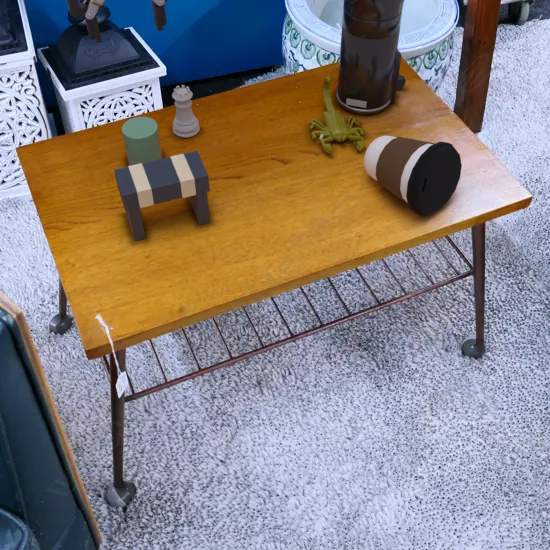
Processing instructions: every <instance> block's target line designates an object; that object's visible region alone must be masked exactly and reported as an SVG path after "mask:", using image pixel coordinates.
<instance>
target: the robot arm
mask: <svg viewBox="0 0 550 550" xmlns="http://www.w3.org/2000/svg"><path fill="white" fill-rule="evenodd" d="M167 1H168V0H150V2H151V7H152V15H153V22H154V26H155V28H156V31H157V32H162V31H164V27H165V26H167V21H168V20H167V15H166V14H167V13H166V3H167ZM105 2H106V0H83V2H79V0H66V4H67V8H68V10H69V13H70V14H69V15H70V16H71V17H72V18H79V17H81V18H84V20H85V25H86V29H87V33H88V35H89V38H90V39H91V40H92V41H93V40H94V41H95V43H96V44H100V43H102V42H103V41H102V37H101V31H100V27H99V23H98V22H99V21H98V18H97V15H96V14H97V13H98V11H99V9H100V7H102V6H103V5H104V3H105ZM404 3H405V0H343V2H342V4H343V5H342V18H341V19H342V20H341V32H340V33H341V34H340V48H339V62H338V75H337V87H336V97H335V99H336V102H337V104H338V106H340V107H341V109H343V110H345V111H347V112H349V113H352V114H355V115H361V116H370V115H377V114H379V113H382V112H384V111H385V110H387V109H388V108H389V106H391V105H394V104H395V103H396V99H397V92H401V91H403V88H404V86H405V84H406V78H405V76H404V75H402V74H401V73H400V70H401V63H402V53H401V51H400V50H399V49H398V48H399V40H400V33H401V24H402V16H403V8H404Z"/></svg>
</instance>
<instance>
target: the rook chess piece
mask: <svg viewBox="0 0 550 550" xmlns="http://www.w3.org/2000/svg"><path fill="white" fill-rule="evenodd" d="M193 95H194V93H193V91H191V89H190V87H189V86H186V85H185V84H181V87H180V85H176V87H175V88H173V92H172V94H171V97H172V99H174V100H175V101H174V103H173V104H174V106H175V107H176V108H175V116H174V119H173V121H172V132H173V133H174V134H175V135H176V136H177V137H179V138H182V139H189V138H193V137H194V136H196V135H197V133H199V132H200V129H201V126H200V123H199V119H198V118H197V117H196V115H195V114H194V112H193V108H192V104H193V101H192V100H191V99H192V98H193Z"/></svg>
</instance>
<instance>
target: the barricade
mask: <svg viewBox="0 0 550 550" xmlns="http://www.w3.org/2000/svg"><path fill="white" fill-rule="evenodd" d="M162 158H163V157H162ZM207 171H208V170H207V169H206V167H205V164H204V163H203V160H202V158H201V155H200V153H199V151H198V150H195V151H190V152H186V153H180V154H175V155H171V156H169V157H164V158H163V159H159V160H155V161H150V162H146V163H140V164H136V165H131V166H129V165H128V166H124V167H120V168H115V169H113V172H114V177H115V182H116V186H117V189H118V192H119V196H120V199H121V202H122V205H123V208H124V211H125V216H126V218H127V221H128V225H129V228H130V230H131V234H132V237H133V241H135V242H137V241H141V240H145V239H146V232H145V227H144V222H143V218H142V212H141V209H143V208H147V207H151V206H152V207H153V206H154V205H158V204H162V203H166V202H171V201H175V200H179V199H185V198H188V200H189V203H190V205H191V207H192V210H193V212H194V215H195V217H196V220H197V222H198V225H199V226H202V225H206V224H210V223H211V217H210V207H209V198H208V197H209V195H208V193H209V192H210V191H211V189H210V179H209V177H210V176H209V173H208V172H207Z"/></svg>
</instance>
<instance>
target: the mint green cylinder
mask: <svg viewBox="0 0 550 550" xmlns="http://www.w3.org/2000/svg"><path fill="white" fill-rule="evenodd" d="M121 132H122V137H123V142H124V147H125V152H126V158H127V162H128V163H127V164H128V166H131V165H136V164H140V163H146V162H150V161H155V160H159V159H163V153H162V146H161V139H160V132H159V126H158V123H157V121H156V120H155V119H153V118H151V117H148V116H136V117H132V118H130V119H127V121H125V122H124V123H123V125H122V127H121Z"/></svg>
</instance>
